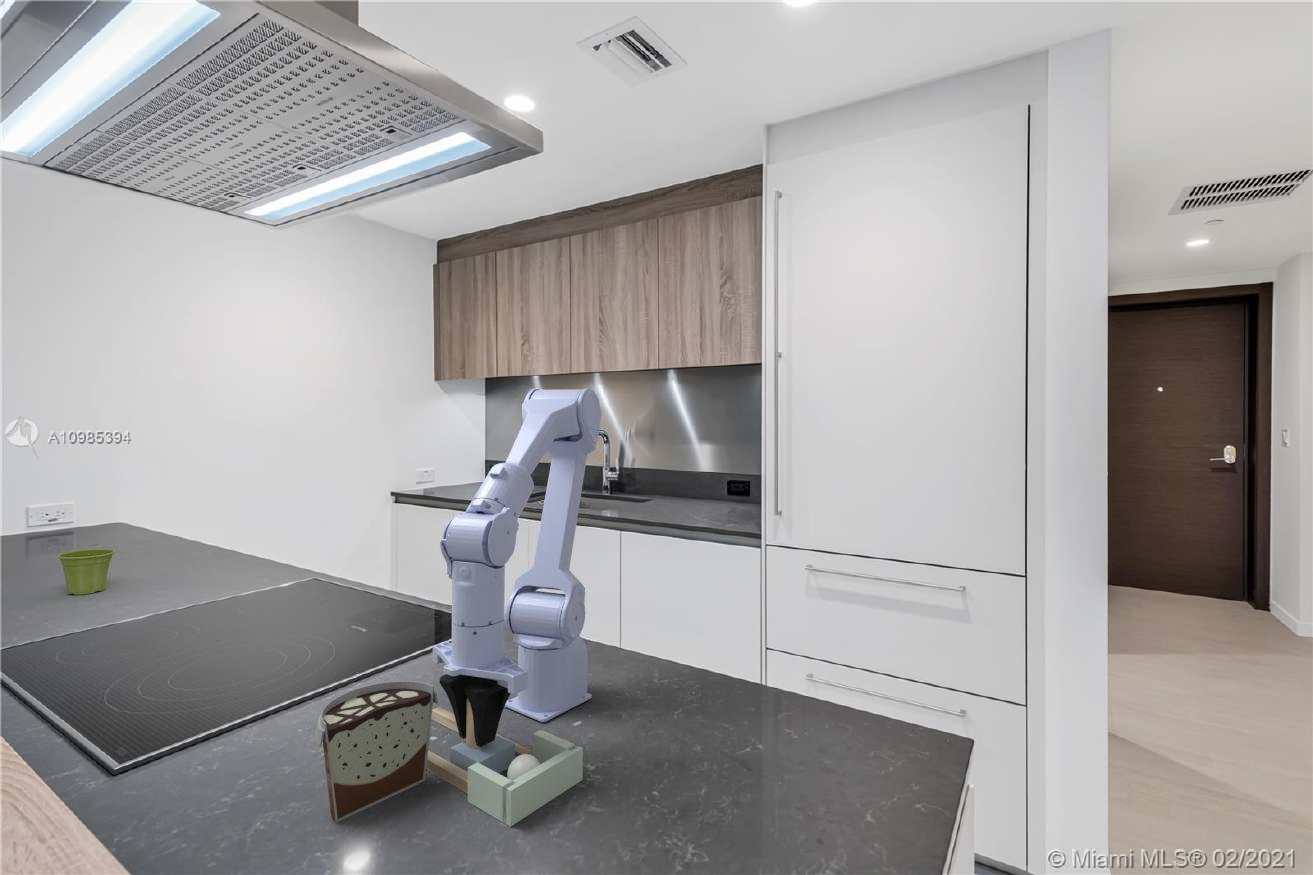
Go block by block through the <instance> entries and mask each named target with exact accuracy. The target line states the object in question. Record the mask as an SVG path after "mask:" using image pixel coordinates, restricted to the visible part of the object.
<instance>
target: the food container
mask: <svg viewBox="0 0 1313 875" xmlns="http://www.w3.org/2000/svg"><path fill="white" fill-rule="evenodd" d="M433 703H434V704H438V703H439V700H438V695H437V691H436V690H435V686H434V685H432V684H430V683H426V682H421V681H413V680H412V681H411V680H397V681H396V680H395V681H394V680H393V681H386V682H385V681H384V682H379V683H374V684H369V685H364V686H361V687H358V688H355V689H352V690H350V691H349V690H348V691H347V692H345V693H343V694H341V695H339V696H337V697H335V698H333V699H331V701H329V702H328V703H327V704H326V705H325V706H324V707H323V708H322V710H321V712H320V715H319V717H318V719H317V723H316V727H315V732H314V741H315V744H316V745H317V747H319V748H322V747H323V749H322V750H323V755H324V757H323V758H324V766H325V773H326V774H325V775H326V782H327V783H326V784H327V793H328V800H329V801H328V802H329V811H330V817H331V819H332V821H333V822H334V823H335V824H336V823H339V822H340V821H343V820H345V819H348V818H349V817H351V816H353V815H356V814H358V813H360V812H362V811H364V810H366V809H369V808H370V807H373V806H375V805H377V804H379V803H381V802H383V801H385V800H388V799H389V798H392V797H394V796H396V795H397V794H400V793H402V792H405V791H407V790H409V789H411V788H413V787H415V786H417V785H420V784H421V783H423V782H425V781H426V776H427V770H426V767H427V757H428V750H429V745H430V737H431V736H430V735H431V727H432V726H431V725H432V720H431V716H432V709H433Z"/></svg>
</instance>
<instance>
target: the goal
mask: <svg viewBox="0 0 1313 875" xmlns="http://www.w3.org/2000/svg"><path fill="white" fill-rule="evenodd" d="M583 755H584V748H583V747H581V746H579V745H577V744H575V743H572V742H570V741H567V740H565V739H563V738H561V737H558V736H556V735H554V734H551V733H550V732H548V731H545V730H542V729H539V730H538V731H535V732H534V733H532V756H534V757H535V758H536V759H537V760H538V761H539V763H540V765H539V766H537V767H535V768H533V769H532V770H530V771H528V772H526V773H525V774H523V775H521V776H520V777H518V778H516V779H514V780H513V781H512V780H510V779H508V777H506V776H504V775H503V774H501V773H499V774H498V773H497V772H495V771H493V770H491V769H489V768H487V767H485V766H483V765H481V764H480V763H478V762H477V763H476V764H474V765H472V766H470V767H468V794H467V802H468V803H469V804H471V805H473V806H475V807H476V808H478V809H480V810H482V811H483V812H484V813H486V814H488V815H489V816H491V817H493V818H495V819H496V820H498V821H499V822H501V823H503V824H505V825H506V826H508V827H510V828H511V827H513V826H514V825H516V824H518V823H519V822H520V821H522V820H523V819H525V818H526V817H528V816H529V815H532V814H533V813H534V812H535V811H537V810H539V809H540V808H541V807H544V806H545V805H547V804H548V803H550V802H551V801H553V800H554V799H556V798H557V797H559V796H560V795H562V794H563V793H565V792H566V791H568V790H570V789H571V788H573V787H574V786H576V785H577V784H579V783H580V782H581V781H583V770H584V769H583V768H584V765H583V763H584V760H583V758H584V756H583Z"/></svg>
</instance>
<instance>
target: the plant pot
mask: <svg viewBox="0 0 1313 875" xmlns="http://www.w3.org/2000/svg"><path fill="white" fill-rule="evenodd" d="M115 552H116V551H115V549H108V548H99V549H97V548H96V549H83V550H82V549H81V550H74V551H68V552H63V553H60V554H58V555H57V558H58V559H59V560H60V564H61V565H62V568H63V573H64V579H65V585H66V592H67V595H75V596H76V595H77V596H79V595H80V596H82V595H91V594H94V593H96V592H102V591H104V590H105V589H106V584H107V578H108V572H109V569H110V568H109V567H110V563H111V560H112V558H113V554H115Z"/></svg>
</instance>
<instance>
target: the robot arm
mask: <svg viewBox="0 0 1313 875" xmlns="http://www.w3.org/2000/svg"><path fill="white" fill-rule="evenodd" d="M521 416H522V418H521V419H522V425H521V427H520V429H519V431H518V434H517V435H516V438H515V441H514V443H513V445H512V447H511V449H510V452H509V453H508V455H507V458H506V460H505V462H499V463H497V464H494V465H493V466H492V467H491V468H490V470H489V471H488V474H487V475H486V477H485V479H484V480H483V482H482V483H481V485H480V487H479V488H478V490H477V492H476V494H475V495H474V497H473V499H472V500H471V502H470V503H469V505H468V507H467V508H466V510H465V512H460V513H459V514H456V515H455V516H454V517H452V518H451V519H450V520H448V522H447V523H446V525H445V526H444V530H443V534H442V539H440V541H439V543H440V544H439V548H440V552H441V554H442V557H443V558H444V560H445V563H446V575H448V578H449V579H451V642H449V641H445V642H442V643H439V644H436V645H433V646H432V662H433V663H434V664H436V665H437V664H438V665H440V664H441V663H444V664H445V665H444V666H443V671H442V672H443V673H444V675H442V676H439V685H440V686H441V687H442V689H443V691H444V692H445V694H446V696H447V698H448V700H449V702H450V705H451V708H452V713H453V714H454V716H455V720H456V724H457V728H458V731H459V733H458V734H459V737H460V738H462V739H463V740H464V739H466V715H467V698H468V699H469V702H470V705H471V709H472V714H473V721H474V736H475V741H476V745H477V746H479V747H482V746H484V745H486V744H488V743H490V742H492V741H494V740H495V736H496V734H498V733H497V732H498V729H499V728H498V727H499V725H500V720H501V717H502V714H503V711H504V708H507V709H510V710H512V711H515V712H517V713H519V714H522V715H524V716H526V717H529V718H531V719H534V720H536V721H538V722H540V723H545V722H547V721H550V720H551V719H553V718H555V717H557V716H559V715H561V714H563V713H566V712H567V711H569V710H570V709H573V708H575V707H577V706H579V705H581V704H582V703H583V704H584V702H587V701H588V700H590V699H592V696H593V695H592V693H589V692H588V662H589V661H588V658H589V657H588V655H589V654H588V649H587V645H586V643H585V640H584V639H583V638H582V636H581V633H582V631H583V629H584V625H585V622H586V607H585V606H586V605H585V602H586V600H585V598H586V587H585V586H584V585H583V584H582V582H581V581H580V580H579V579H578V577H576V576H575V575H574V573H573V572H572V571H571V570H570V569H571V568H570V566H571V560H572V556H573V555H572V553H573V546H574V541H575V536H576V530H577V529H576V528H577V522H578V517H579V516H578V515H579V511H580V504H581V497H582V490H583V484H584V478H585V472H586V471H585V470H586V465H587V459H588V455H589V454H591V453H592V452H594V451H596V449H597V444H598V440H599V435H600V433H599V432H600V429H601V428H600V427H601V422H602V421H601V420H602V408H601V404H600V400H599V397H598V395H597V394H596V392H595V391H594V389H593V388H589V387H587V388H586V387H585V388H578V389H577V388H575V389H574V388H573V389H570V388H569V389H567V388H566V389H565V388H564V389H540V388H532V389H530V390H529V391H528V392H527V394H526V396H525V398H524V401H523V402H522V404H521ZM546 453H548V454H549V455H550V457H551V462H550V469H549V474H548V479H547V485H546V491H545V496H544V502H543V508H542V513H541V519H540V524H539V531H538V536H537V543H536V548H535V554H534V558H533V565H532V566H531V567H530V568H528V569H527V570H526V571H524V572H523V573H521V574H520V575H518V576H517V577H516V578H515V579H514V583H513V587H512V591H511V593H510V596H509V598H508V599H507V602H506V604H505V585H506V584H505V583H506V581H505V580H506V578H505V577H506V572H505V570H506V569H505V568H506V564H507V563H508V562H509V560H510V559H511V557H512V556H513V554H514V552H515V549H516V545H517V544H516V543H517V534H518V531H519V526H520V523H519V522H518V520H519V518H520V516H521V515H522V512H523V510H524V508H525V507H526V504H527V503H528V501H529V499H530V496H531V495H532V493H533V491H534V488H535V484H534V481H533V478H532V476H531V475H532V474H533V472H534V470H535V469H536V468H537V466H538V465H539V463H540V462H541V460H542V459H543V458H544V456H545V454H546ZM539 589H541V591H540V590H539ZM542 589H545V590H553V591H554V590H555V591H562V592H563V593H557V592H551V591H550V592H547V591H542ZM505 627H506V630H507V631H508V633H509V634H510V635H513V643H517V645H518V646H517V647H518V649H517V663H516V662H515V661H513V660H512V659H511V658H510V657H509V656H508V655H507V654H506V653H505ZM516 694H517V696H515V697H513V698H511V699H509V698H510V696H511V695H516Z"/></svg>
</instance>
